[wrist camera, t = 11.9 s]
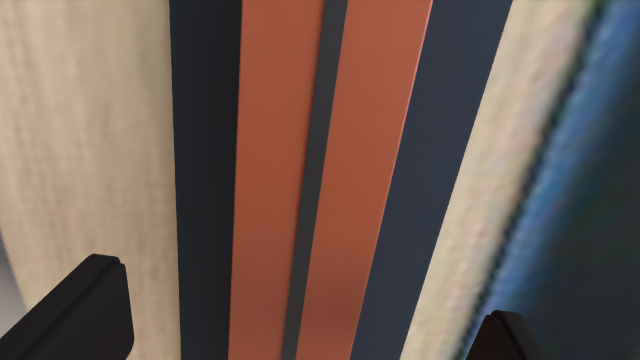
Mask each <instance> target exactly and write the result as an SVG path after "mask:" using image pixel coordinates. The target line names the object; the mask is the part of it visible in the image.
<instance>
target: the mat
mask: <svg viewBox="0 0 640 360" xmlns="http://www.w3.org/2000/svg"><path fill="white" fill-rule="evenodd" d="M512 1H513V0H433V3H432V8H431V12H430V16H429V20H428V25H427V29H426V33H425V38H424V42H423V46H422V50H421V55H420V59H419V63H418V68H417V72H416V76H415V80H414V85H413V89H412V93H411V98H410V102H409V106H408V110H407V115H406V119H405V123H404V128H403V132H402V136H401V140H400V145H399V149H398V153H397V158H396V162H395V166H394V170H393V175H392V179H391V183H390V188H389V192H388V196H387V200H386V205H385V209H384V213H383V218H382V222H381V226H380V230H379V235H378V239H377V243H376V248H375V252H374V256H373V260H372V265H371V269H370V273H369V278H368V282H367V286H366V290H365V295H364V299H363V303H362V308H361V312H360V316H359V320H358V325H357V329H356V333H355V338H354V342H353V346H352V350H351V355H350V359H349V360H399V359H400V356H401V353H402V350H403V347H404V343H405V340H406V337H407V334H408V331H409V327H410V324H411V321H412V318H413V315H414V312H415V308H416V305H417V302H418V299H419V296H420V293H421V289H422V286H423V283H424V280H425V277H426V274H427V270H428V267H429V264H430V261H431V258H432V255H433V251H434V248H435V245H436V242H437V239H438V236H439V232H440V229H441V226H442V223H443V220H444V217H445V213H446V210H447V207H448V204H449V201H450V198H451V194H452V191H453V188H454V185H455V182H456V179H457V175H458V172H459V169H460V166H461V163H462V159H463V156H464V153H465V150H466V147H467V144H468V140H469V137H470V134H471V131H472V128H473V125H474V121H475V118H476V115H477V112H478V109H479V106H480V102H481V99H482V96H483V93H484V90H485V87H486V83H487V80H488V77H489V74H490V71H491V68H492V64H493V61H494V58H495V55H496V52H497V49H498V45H499V42H500V39H501V36H502V33H503V30H504V26H505V23H506V20H507V17H508V14H509V11H510V7H511V4H512ZM169 8H170V37H171V67H172V96H173V126H174V156H175V185H176V215H177V244H178V274H179V303H180V333H181V360H228V350H229V325H230V299H231V274H232V248H233V222H234V197H235V171H236V146H237V120H238V94H239V69H240V43H241V18H242V0H169Z"/></svg>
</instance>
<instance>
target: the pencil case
mask: <svg viewBox="0 0 640 360" xmlns="http://www.w3.org/2000/svg"><path fill="white" fill-rule="evenodd" d="M432 3H433V0H242V18H241V43H240V69H239V94H238V120H237V146H236V171H235V197H234V222H233V248H232V274H231V299H230V325H229V350H228V360H349V359H350V355H351V350H352V346H353V342H354V338H355V333H356V329H357V325H358V320H359V316H360V312H361V308H362V303H363V299H364V295H365V290H366V286H367V282H368V278H369V273H370V269H371V265H372V260H373V256H374V252H375V248H376V243H377V239H378V235H379V230H380V226H381V222H382V218H383V213H384V209H385V205H386V200H387V196H388V192H389V188H390V183H391V179H392V175H393V170H394V166H395V162H396V158H397V153H398V149H399V145H400V140H401V136H402V132H403V128H404V123H405V119H406V115H407V110H408V106H409V102H410V98H411V93H412V89H413V85H414V80H415V76H416V72H417V68H418V63H419V59H420V55H421V50H422V46H423V42H424V38H425V33H426V29H427V25H428V20H429V16H430V12H431V8H432Z"/></svg>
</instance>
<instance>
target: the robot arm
mask: <svg viewBox="0 0 640 360" xmlns="http://www.w3.org/2000/svg"><path fill="white" fill-rule="evenodd" d="M133 344H134V330H133V322H132V314H131V306H130V298H129V290H128V282H127V274H126V267H125V265H124V264H122V263H120V260H119V258H118V257H115V256H107V255H100V254H91V255H90V256H88V257H87V258H86V259H85V260H84V261H83V262H82V263H80V264H79V265H78V266H77V267H76V268H75V269H74V270H73V271H72V272H71V273H70V274H69V275H68V276H67V277H65V278H64V279H63V280H62V281H61V282H60V283H59V284H58V285H57V286H56V287H55V288H54V289H53V290H52V291H51V292H49V293H48V294H47V295H46V296H45V297H44V298H43V299H42V300H41V301H40V302H39V303H38V304H37V305H36V306H34V307H33V308H32V309H31V310H30V311H29V312H28V313H27V314H26V315H25V316H24V317H23V318H22V319H21V320H20V321H18V322H17V323H16V324H15V325H14V326H13V327H12V328H11V329H10V330H9V331H8V332H7V333H6V334H5V335H4V336H2V337H1V339H0V360H126V358H127V357H128V355H129V354H130V352H131V350H132V347H133ZM466 360H550V359H549V358H548V356H547V355H546V353H545V351H544V350H543V348H542V346H541V345H540V343H539V342H538V340H537V338H536V337H535V335H534V334H533V332H532V330H531V329H530V327H529V326H528V324H527V322H526V321H525V319H524V318H523V316H522V315H521V314H519V313H515V312H507V311H500V310H494V311H493V312H492V313H491V315H486V316H485V318H484V320H483V322H482V324H481V327H480V329H479V331H478V333H477V336H476V338H475V340H474V342H473V344H472V347H471V349H470V351H469V353H468V356H467V358H466Z"/></svg>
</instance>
